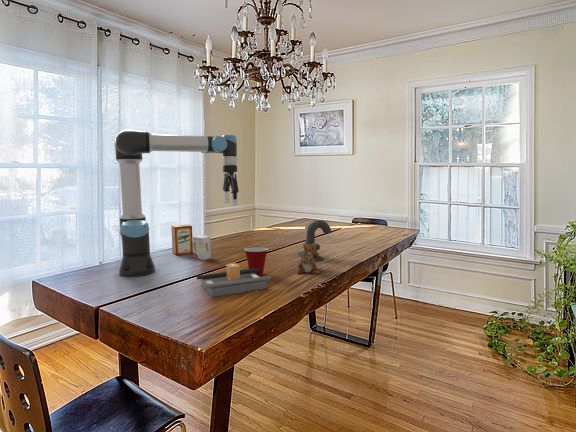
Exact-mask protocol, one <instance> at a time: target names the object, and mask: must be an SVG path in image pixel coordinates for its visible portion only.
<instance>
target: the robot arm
mask: <svg viewBox="0 0 576 432" xmlns="http://www.w3.org/2000/svg"><path fill="white" fill-rule="evenodd" d="M237 139H238V138H237V136H236V135H235V134H234V135H233V134H222V135H216V136H214V135H213V136H212V135H186V134H157V133H155V134H154V133H151V132H150V131H144V130H143V131H142V130H135V129H124V130H121V131H119V133H117V134H116V136H115V138H114V148H115V150H114V151H115V161H116V162H118V163H119V170H120V171H119V173H120V174H119V175H120V187H121V205H122V215H120V216H119V226H120V229H119V234H120V237H121V247H122V248H121V249H122V251H121V252H122V258H121V263H120V265H119V275H120V276H122V277H129V276H133V277H142V276H147V275H151V274H153V273H155V271H156V269H155V268H156V267H155V263H154V261H153V258H152V256H151V245H150V244H151V243H150V226H149V223H148V222H147V221H146V215H144V213H143V211H142V210H143V207H142V191H141V190H142V189H141V173H140V172H141V170H140V168H141V167H140V164H141V162H142V161H143V154H151V152H179V153H180V152H181V153H182V152H183V153H184V152H186V153H187V152H188V153H190V152H191V153H192V152H193V153H194V152H196V153H202V154H222V164H223V165H222V172H223V173H224V174H223V175H224V177H223V183H222V184H223V185H222V190H223V192H224V194H223V196H224V201H223V202H224V204H225V205H226V204H230V202H231V206H232V207H236V206H237V207H238V193H239V186H238V179H237V174H236V173H237V172H238V165H237V164H238V159H239V158H238V154H237V153H238V152H237V151H238V150H237V149H238V148H237V147H238V146H237V145H238V141H237ZM230 189H231V191H230ZM230 192H231V193H230ZM230 194H231V198H230ZM230 199H231V200H230Z"/></svg>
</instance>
